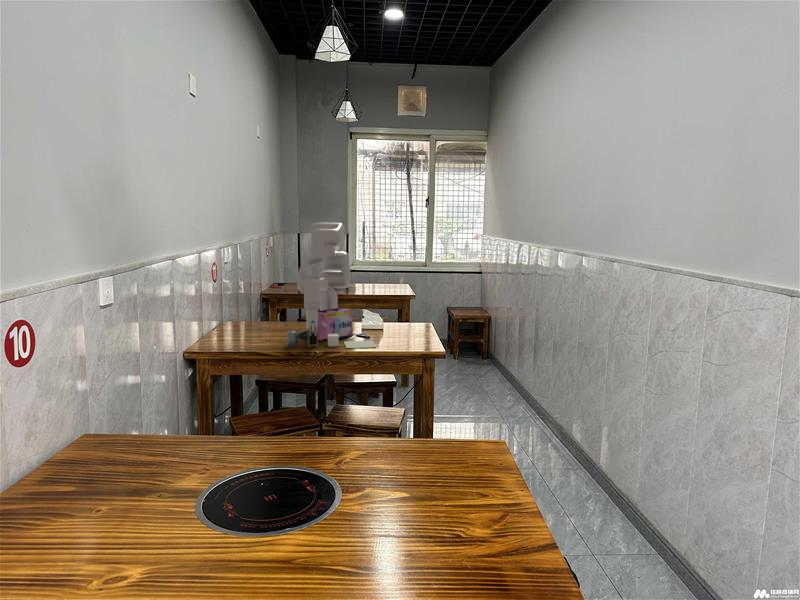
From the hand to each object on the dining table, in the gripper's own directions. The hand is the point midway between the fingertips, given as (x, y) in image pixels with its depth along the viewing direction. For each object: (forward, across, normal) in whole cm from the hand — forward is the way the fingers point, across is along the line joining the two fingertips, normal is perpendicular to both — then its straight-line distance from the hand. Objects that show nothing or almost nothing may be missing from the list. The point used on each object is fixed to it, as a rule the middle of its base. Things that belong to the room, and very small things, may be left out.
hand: (312, 342), depth 263 cm
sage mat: (+2, +2, +22) cm, 22 cm away
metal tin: (+2, 0, -10) cm, 10 cm away
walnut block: (+2, 0, 0) cm, 2 cm away
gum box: (+2, -20, +10) cm, 22 cm away
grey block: (+2, 0, +10) cm, 10 cm away
